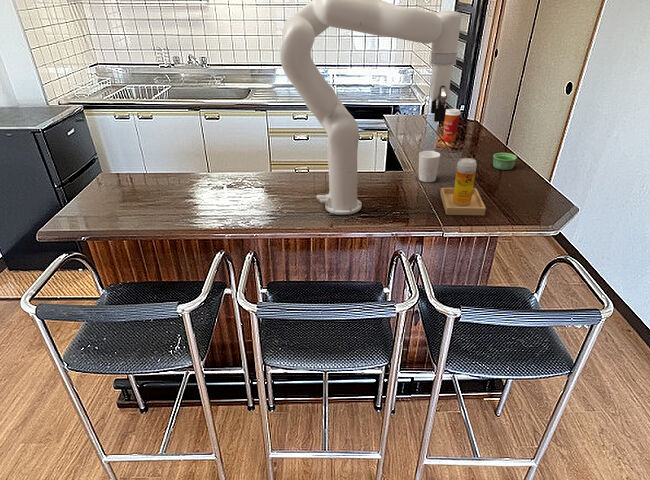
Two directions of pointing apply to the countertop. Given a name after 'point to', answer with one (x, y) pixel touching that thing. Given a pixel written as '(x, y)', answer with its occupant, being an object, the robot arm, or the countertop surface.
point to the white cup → (428, 165)
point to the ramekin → (504, 161)
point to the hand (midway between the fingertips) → (437, 117)
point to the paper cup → (451, 124)
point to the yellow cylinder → (464, 181)
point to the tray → (471, 209)
